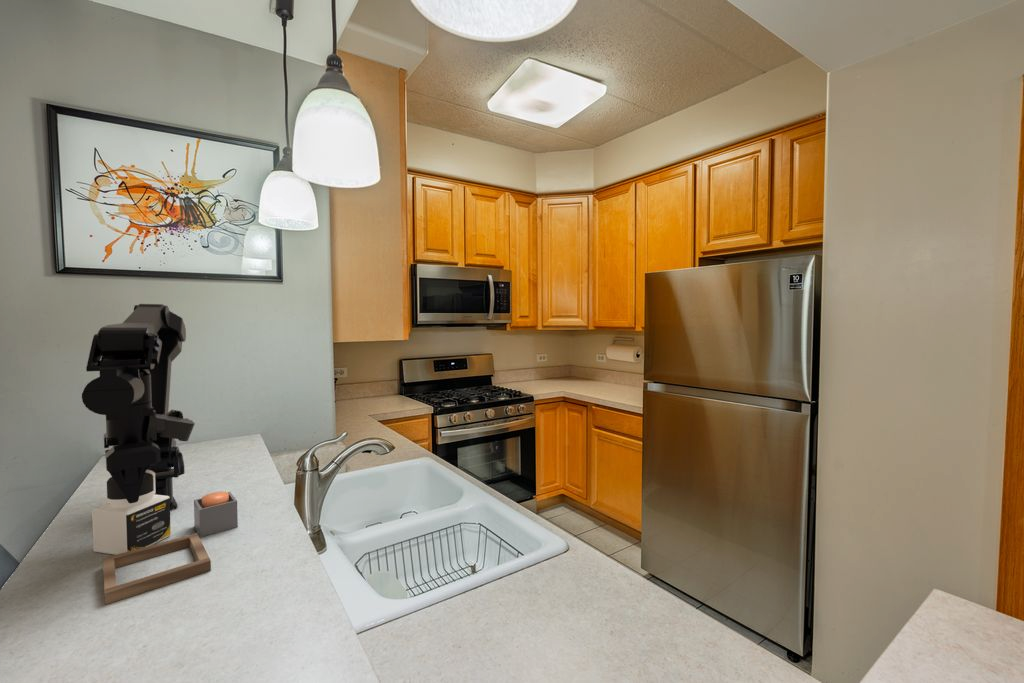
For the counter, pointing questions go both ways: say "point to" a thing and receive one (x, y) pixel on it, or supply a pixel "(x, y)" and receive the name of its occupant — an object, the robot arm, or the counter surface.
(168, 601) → the counter surface
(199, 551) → the frame
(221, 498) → the button
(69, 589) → the counter surface
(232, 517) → the button housing
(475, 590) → the counter surface
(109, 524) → the medicine bottle
